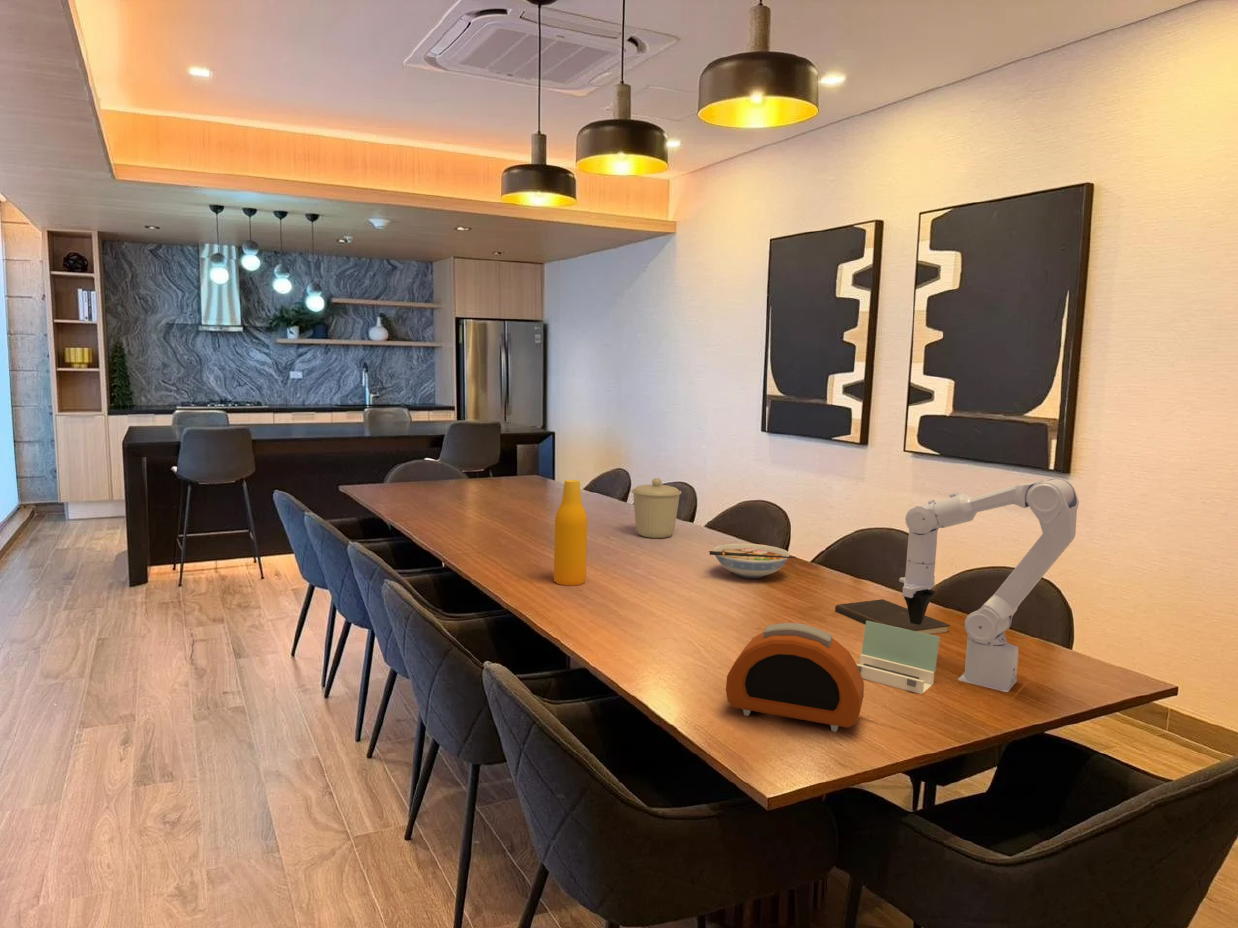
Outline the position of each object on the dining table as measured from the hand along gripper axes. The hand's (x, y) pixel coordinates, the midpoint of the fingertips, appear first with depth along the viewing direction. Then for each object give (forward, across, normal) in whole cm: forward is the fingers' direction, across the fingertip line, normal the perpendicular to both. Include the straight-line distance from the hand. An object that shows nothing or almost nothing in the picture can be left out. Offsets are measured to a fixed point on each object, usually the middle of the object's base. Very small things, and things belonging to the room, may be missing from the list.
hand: (915, 623), depth 177 cm
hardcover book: (+10, -26, -14) cm, 31 cm away
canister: (+10, -67, -116) cm, 135 cm away
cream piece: (+9, +14, 0) cm, 17 cm away
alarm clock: (+9, +42, -7) cm, 44 cm away
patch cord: (+8, +14, 0) cm, 16 cm away
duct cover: (+2, +10, 0) cm, 10 cm away
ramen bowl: (+9, -41, -62) cm, 75 cm away
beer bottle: (+9, +2, -96) cm, 97 cm away
